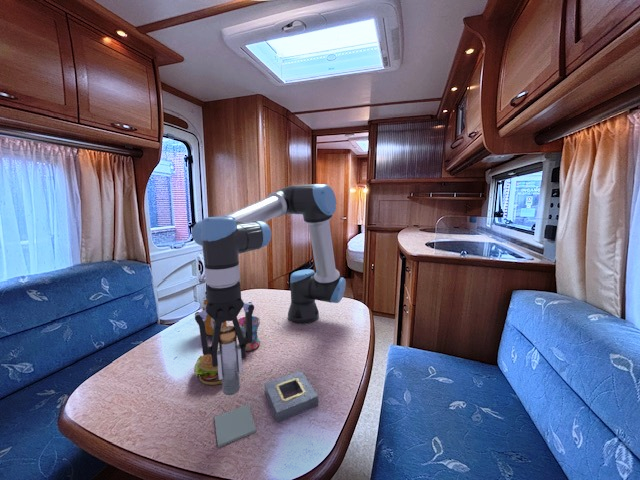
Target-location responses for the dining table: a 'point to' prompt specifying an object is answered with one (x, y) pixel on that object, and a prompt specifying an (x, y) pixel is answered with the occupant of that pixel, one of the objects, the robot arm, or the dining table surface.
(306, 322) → the robot arm
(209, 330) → the canister
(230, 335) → the key peg
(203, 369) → the food
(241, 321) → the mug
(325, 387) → the dining table surface
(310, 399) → the plate
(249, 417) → the rest pad
